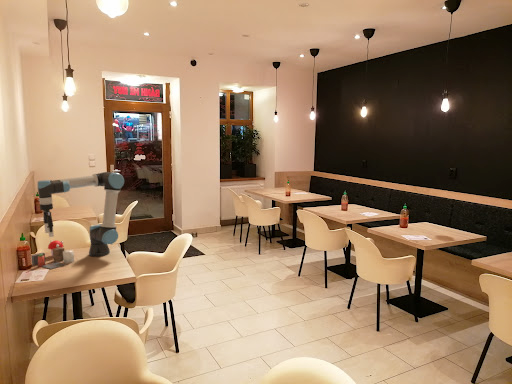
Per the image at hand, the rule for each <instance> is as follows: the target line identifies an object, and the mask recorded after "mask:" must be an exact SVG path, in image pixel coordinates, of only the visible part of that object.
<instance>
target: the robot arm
mask: <svg viewBox="0 0 512 384" xmlns="http://www.w3.org/2000/svg"><path fill="white" fill-rule="evenodd" d="M124 184H125V178H124V176H123V175H122V174H120V173H118V172H113V171H112V172H111V171H106V172H105V171H104V172H98V173H93V174H91V175H88V176H79V177H71V178H64V179H55V180H51V179H46V180H45V179H43V180H38V181H37V191H38V199H37V201H38V202H39V209H40V211H42V212H43V213H42V216H43V223H44V224H43V225H44V233H45V234H48V237H49V238H54V236H55V235H54V223H53V218H52V212H51V210H53V209H54V206H53V205H54V204H53V197H52V195H53V194H62V193H63V194H64V193H68V192H70V190H71V189H78V188H86V187H103V190H104V191H105V198H104V199H105V200H104V208H103V216H102V217H103V218H102V223H101V224H99V223H98V224H95V225H91V226H90V227H89V241H90V242H89V243H90V247H89V250H88V256H89V257H103V256H107V255H108V254H110V251H111V249H110V247H109V245H113V244H114V243H116V242H117V241H118V239H119V233H118V231H117V225H116V224H115V223H116V222H115V221H116V213H117V206H118V196H119V193H120V192H121V189H122V187H124Z"/></svg>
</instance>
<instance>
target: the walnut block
mask: <svg viewBox="0 0 512 384" xmlns="http://www.w3.org/2000/svg"><path fill="white" fill-rule="evenodd" d="M63 251H65V248H64V247H62V248H61V247H58V248H54V249H53V256H52V259H53V262H59V263H60V262H62V261H63V262H64V260H63Z"/></svg>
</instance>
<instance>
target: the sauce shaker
mask: <svg viewBox="0 0 512 384" xmlns="http://www.w3.org/2000/svg"><path fill="white" fill-rule="evenodd" d="M38 254H39V253H38ZM44 265H46V259H45V260H44V256H43V254H39V256H38V265H37V266H38V268H39V267H40V268H43V267H42V266H44Z"/></svg>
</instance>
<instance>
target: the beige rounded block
mask: <svg viewBox="0 0 512 384" xmlns="http://www.w3.org/2000/svg"><path fill="white" fill-rule="evenodd" d="M74 262H75V255H74V250H73V249H67V250H64V251H63V264H72V263H74Z"/></svg>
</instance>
